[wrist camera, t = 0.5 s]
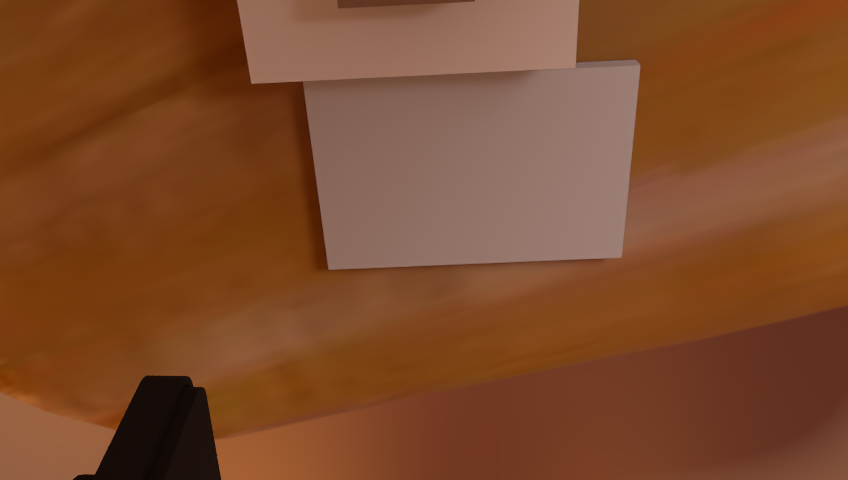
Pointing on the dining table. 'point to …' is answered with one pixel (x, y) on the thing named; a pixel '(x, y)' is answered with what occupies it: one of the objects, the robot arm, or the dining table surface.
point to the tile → (390, 2)
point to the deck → (405, 38)
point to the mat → (474, 165)
